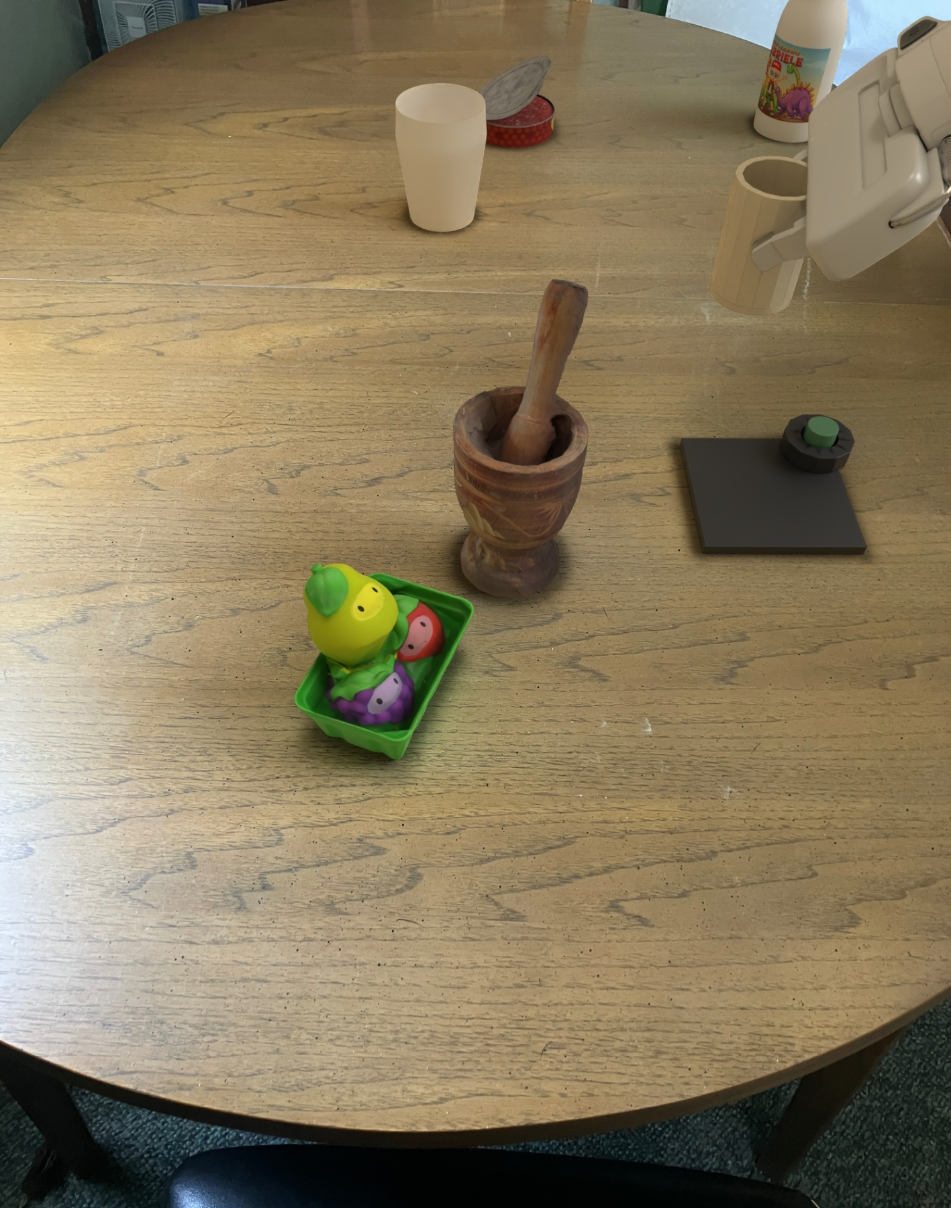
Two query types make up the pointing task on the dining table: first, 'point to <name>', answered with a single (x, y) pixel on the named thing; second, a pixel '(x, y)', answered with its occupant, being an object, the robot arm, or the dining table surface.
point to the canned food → (519, 105)
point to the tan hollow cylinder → (759, 235)
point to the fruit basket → (376, 654)
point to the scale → (772, 494)
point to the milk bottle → (800, 67)
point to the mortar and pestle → (522, 460)
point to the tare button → (821, 432)
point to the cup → (441, 153)
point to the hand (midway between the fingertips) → (758, 231)
